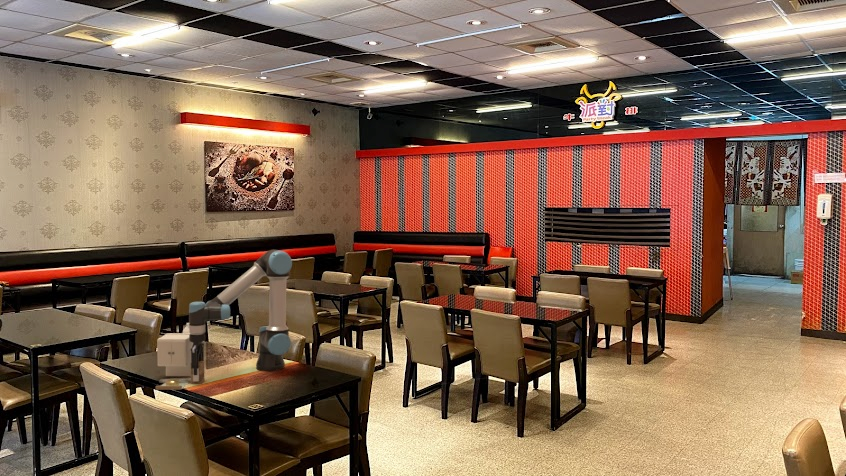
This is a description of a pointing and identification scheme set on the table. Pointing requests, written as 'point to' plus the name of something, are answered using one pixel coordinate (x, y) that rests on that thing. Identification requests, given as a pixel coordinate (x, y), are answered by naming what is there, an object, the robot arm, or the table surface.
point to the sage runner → (164, 387)
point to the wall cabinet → (175, 353)
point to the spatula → (201, 375)
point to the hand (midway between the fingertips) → (197, 379)
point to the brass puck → (172, 382)
